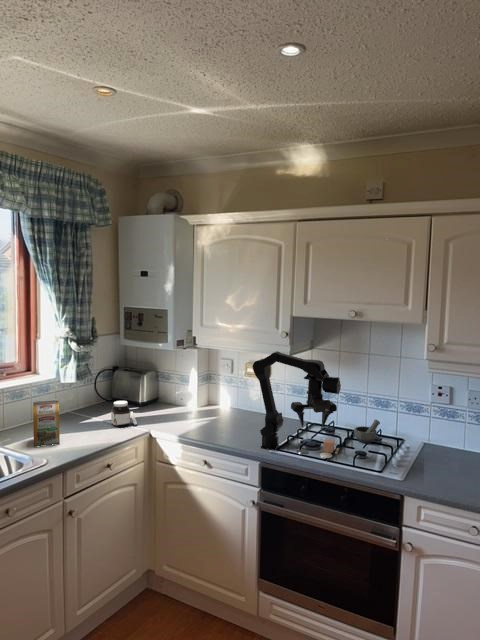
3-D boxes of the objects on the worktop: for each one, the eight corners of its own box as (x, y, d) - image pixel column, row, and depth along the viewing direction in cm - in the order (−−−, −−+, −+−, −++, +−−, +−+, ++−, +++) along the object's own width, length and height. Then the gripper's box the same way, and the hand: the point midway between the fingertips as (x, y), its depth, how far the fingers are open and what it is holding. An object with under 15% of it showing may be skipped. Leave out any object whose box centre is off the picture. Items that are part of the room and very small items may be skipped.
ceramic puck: (318, 460, 202) (319, 456, 202) (321, 455, 207) (321, 452, 207) (330, 461, 201) (331, 458, 201) (333, 457, 205) (333, 453, 205)
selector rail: (295, 451, 212) (295, 447, 212) (298, 446, 218) (298, 443, 217) (336, 457, 206) (337, 453, 206) (339, 452, 211) (339, 448, 211)
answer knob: (323, 451, 209) (323, 442, 208) (325, 448, 212) (325, 439, 212) (332, 452, 207) (333, 443, 207) (334, 449, 211) (334, 440, 211)
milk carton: (33, 447, 213) (32, 404, 211) (34, 439, 222) (33, 398, 221) (59, 444, 217) (58, 402, 215) (58, 436, 226) (58, 396, 225)
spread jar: (109, 424, 247) (108, 401, 246) (129, 419, 254) (129, 398, 253) (120, 429, 238) (120, 406, 237) (140, 425, 245) (140, 402, 244)
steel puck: (295, 456, 206) (295, 452, 206) (298, 452, 210) (298, 449, 210) (307, 458, 204) (307, 454, 204) (309, 454, 209) (309, 450, 209)
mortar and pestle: (352, 446, 219) (353, 420, 218) (354, 439, 228) (355, 414, 227) (378, 449, 216) (379, 423, 215) (379, 442, 225) (380, 417, 223)
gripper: (299, 395, 196) (297, 433, 197) (343, 395, 200) (340, 432, 201) (291, 388, 206) (289, 424, 208) (332, 388, 210) (330, 423, 212)
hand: (312, 426), depth 207 cm, fingers open, 9 cm apart
